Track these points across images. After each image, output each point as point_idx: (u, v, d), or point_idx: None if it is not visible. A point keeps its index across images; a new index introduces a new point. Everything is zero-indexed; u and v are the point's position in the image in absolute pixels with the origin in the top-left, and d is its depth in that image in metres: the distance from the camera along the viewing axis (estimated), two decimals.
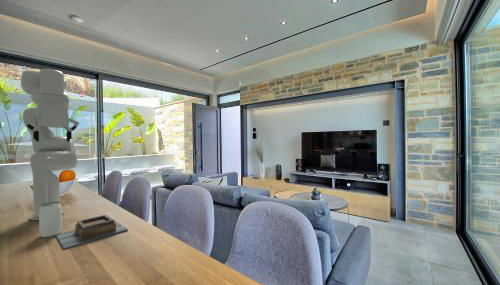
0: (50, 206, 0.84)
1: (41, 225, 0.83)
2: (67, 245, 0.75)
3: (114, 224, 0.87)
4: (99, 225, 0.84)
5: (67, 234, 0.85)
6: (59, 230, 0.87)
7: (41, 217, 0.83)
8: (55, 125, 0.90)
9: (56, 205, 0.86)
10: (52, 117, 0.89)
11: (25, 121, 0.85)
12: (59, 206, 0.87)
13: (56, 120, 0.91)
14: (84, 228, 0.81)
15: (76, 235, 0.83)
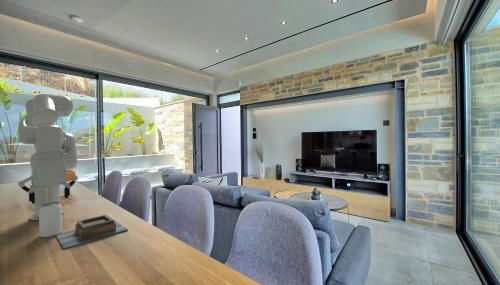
0: (50, 206, 0.84)
1: (41, 225, 0.83)
2: (67, 245, 0.75)
3: (114, 224, 0.87)
4: (99, 225, 0.84)
5: (67, 234, 0.85)
6: (59, 230, 0.87)
7: (41, 217, 0.83)
8: (52, 184, 0.85)
9: (56, 205, 0.86)
10: (48, 176, 0.84)
11: (20, 183, 0.79)
12: (59, 206, 0.87)
13: (53, 178, 0.85)
14: (84, 228, 0.81)
15: (76, 235, 0.83)
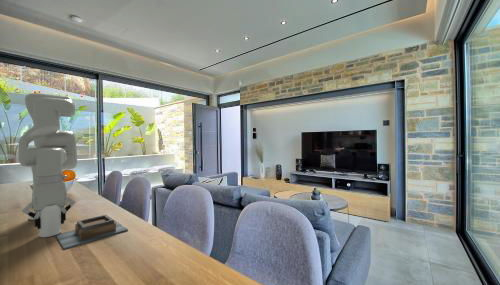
0: (50, 206, 0.84)
1: (41, 225, 0.83)
2: (67, 245, 0.75)
3: (114, 224, 0.87)
4: (99, 225, 0.84)
5: (67, 234, 0.85)
6: (59, 230, 0.86)
7: (41, 217, 0.83)
8: None
9: (56, 205, 0.86)
10: (49, 200, 0.84)
11: (24, 211, 0.80)
12: None
13: (54, 202, 0.85)
14: (84, 228, 0.81)
15: (76, 235, 0.83)
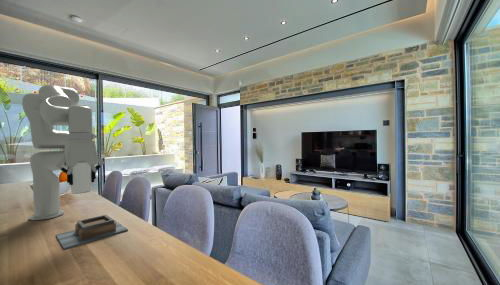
0: (81, 163, 0.84)
1: (73, 181, 0.83)
2: (67, 245, 0.75)
3: (114, 224, 0.87)
4: (99, 225, 0.84)
5: (67, 234, 0.85)
6: (89, 188, 0.87)
7: (73, 173, 0.83)
8: None
9: (87, 163, 0.86)
10: (80, 156, 0.85)
11: (57, 166, 0.81)
12: None
13: (85, 159, 0.86)
14: (84, 228, 0.81)
15: (76, 235, 0.83)
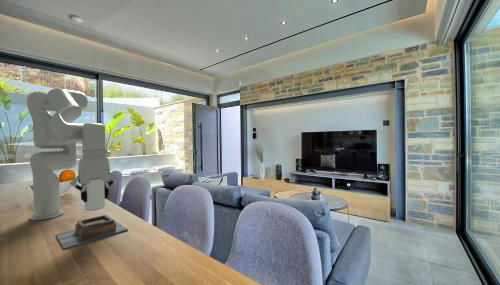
0: (95, 180, 0.85)
1: (87, 198, 0.84)
2: (67, 245, 0.75)
3: (114, 224, 0.87)
4: (99, 225, 0.84)
5: (67, 234, 0.85)
6: (103, 204, 0.87)
7: (87, 190, 0.84)
8: None
9: (100, 179, 0.87)
10: (94, 173, 0.85)
11: (72, 184, 0.81)
12: None
13: (99, 176, 0.86)
14: (84, 228, 0.81)
15: (76, 235, 0.83)
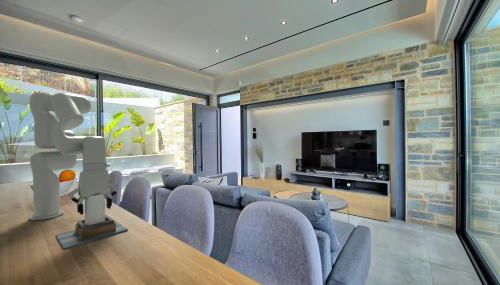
0: (96, 195, 0.85)
1: (87, 214, 0.84)
2: (67, 245, 0.75)
3: (114, 224, 0.87)
4: (99, 225, 0.84)
5: (67, 234, 0.85)
6: (103, 219, 0.88)
7: (87, 206, 0.84)
8: None
9: (101, 195, 0.87)
10: (94, 187, 0.85)
11: (69, 195, 0.81)
12: (103, 196, 0.88)
13: (99, 189, 0.86)
14: (84, 228, 0.81)
15: (76, 235, 0.83)
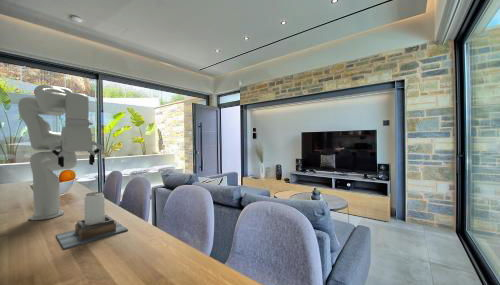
0: (95, 195, 0.85)
1: (87, 214, 0.84)
2: (67, 245, 0.75)
3: (114, 224, 0.87)
4: (99, 225, 0.84)
5: (67, 234, 0.85)
6: (103, 219, 0.88)
7: (87, 206, 0.84)
8: (79, 150, 0.89)
9: (100, 195, 0.87)
10: (76, 142, 0.88)
11: (51, 147, 0.84)
12: (103, 196, 0.88)
13: (81, 145, 0.89)
14: (84, 228, 0.81)
15: (76, 235, 0.83)
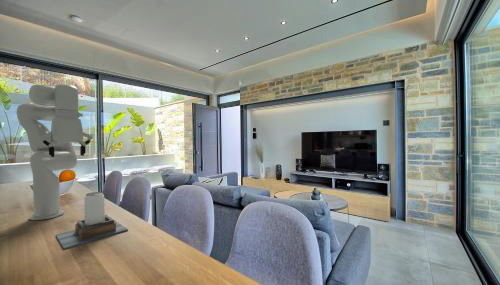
0: (95, 195, 0.85)
1: (87, 214, 0.84)
2: (67, 245, 0.75)
3: (114, 224, 0.87)
4: (99, 225, 0.84)
5: (67, 234, 0.85)
6: (103, 219, 0.88)
7: (87, 206, 0.84)
8: (70, 140, 0.91)
9: (100, 195, 0.87)
10: (66, 133, 0.90)
11: (41, 137, 0.85)
12: (103, 196, 0.88)
13: (71, 135, 0.91)
14: (84, 228, 0.81)
15: (76, 235, 0.83)
